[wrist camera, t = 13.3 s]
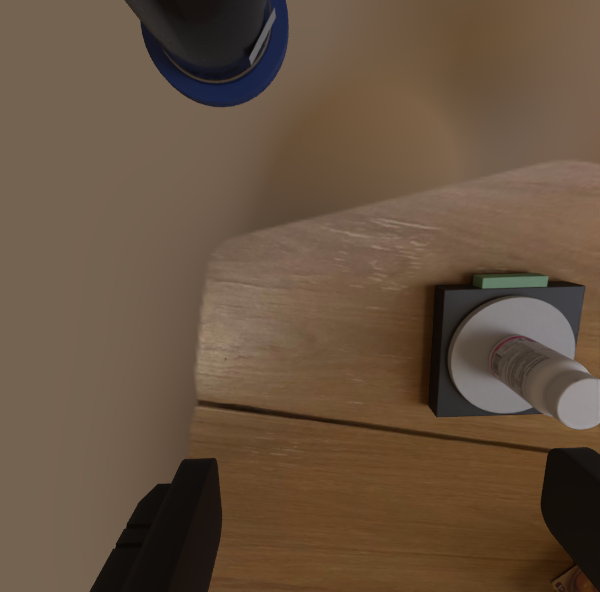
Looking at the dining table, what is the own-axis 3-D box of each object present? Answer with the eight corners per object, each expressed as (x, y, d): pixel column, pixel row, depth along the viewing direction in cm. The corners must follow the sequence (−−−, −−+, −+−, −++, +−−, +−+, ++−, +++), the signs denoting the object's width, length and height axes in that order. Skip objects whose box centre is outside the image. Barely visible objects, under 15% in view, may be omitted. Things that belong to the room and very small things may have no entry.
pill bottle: (548, 354, 33) (634, 400, 24) (511, 390, 33) (581, 447, 25) (514, 323, 32) (589, 360, 24) (476, 361, 33) (537, 409, 24)
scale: (435, 275, 34) (448, 280, 31) (569, 271, 34) (595, 276, 31) (428, 406, 37) (439, 422, 34) (550, 402, 37) (572, 418, 34)
